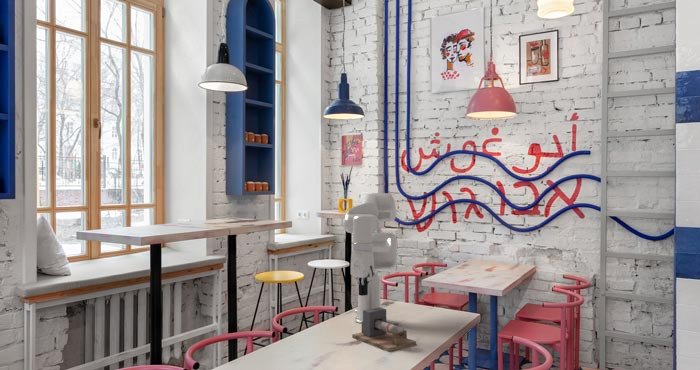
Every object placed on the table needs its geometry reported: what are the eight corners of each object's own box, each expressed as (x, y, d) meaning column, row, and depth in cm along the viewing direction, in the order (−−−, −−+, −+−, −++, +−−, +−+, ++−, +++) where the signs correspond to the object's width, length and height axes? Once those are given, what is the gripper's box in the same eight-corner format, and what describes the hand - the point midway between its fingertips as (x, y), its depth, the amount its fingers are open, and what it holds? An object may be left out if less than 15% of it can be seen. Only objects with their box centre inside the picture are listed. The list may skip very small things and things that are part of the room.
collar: (363, 334, 186) (362, 310, 187) (379, 330, 191) (379, 307, 191) (369, 336, 183) (369, 312, 183) (386, 333, 188) (386, 309, 188)
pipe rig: (352, 337, 188) (352, 318, 188) (379, 331, 195) (379, 313, 195) (388, 351, 171) (387, 330, 171) (416, 344, 178) (415, 324, 178)
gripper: (343, 246, 197) (344, 293, 196) (366, 249, 185) (367, 299, 184) (359, 245, 201) (359, 291, 201) (382, 248, 189) (382, 296, 189)
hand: (363, 294), depth 193 cm, fingers closed
